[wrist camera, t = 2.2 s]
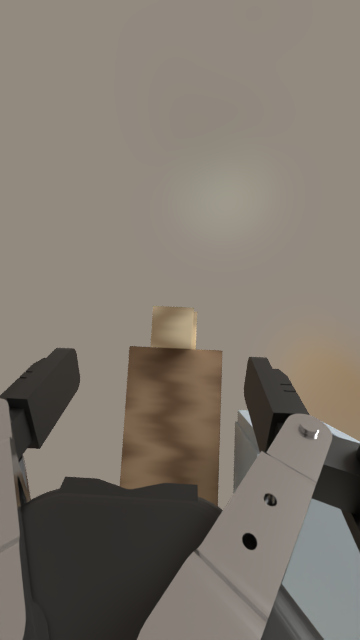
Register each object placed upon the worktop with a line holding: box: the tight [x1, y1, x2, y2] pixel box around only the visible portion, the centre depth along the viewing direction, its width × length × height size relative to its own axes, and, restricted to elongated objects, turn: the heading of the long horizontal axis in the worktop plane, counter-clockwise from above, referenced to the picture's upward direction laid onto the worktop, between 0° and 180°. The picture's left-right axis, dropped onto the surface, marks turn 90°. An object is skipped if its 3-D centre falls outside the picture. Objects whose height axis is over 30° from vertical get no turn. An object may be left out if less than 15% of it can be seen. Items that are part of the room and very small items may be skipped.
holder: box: [233, 410, 360, 640], centre depth 25 cm, size 9×10×25 cm
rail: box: [151, 306, 197, 349], centre depth 28 cm, size 4×15×4 cm, turn 178°
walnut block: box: [120, 346, 222, 506], centre depth 30 cm, size 10×7×32 cm
